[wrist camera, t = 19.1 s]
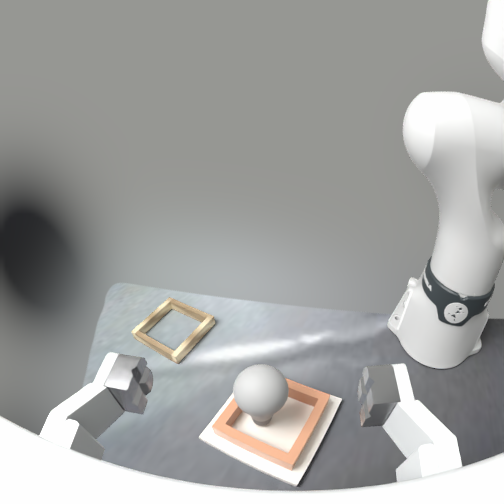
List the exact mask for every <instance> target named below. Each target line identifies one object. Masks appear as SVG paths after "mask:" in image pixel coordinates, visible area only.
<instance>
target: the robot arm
mask: <svg viewBox="0 0 504 504" xmlns="http://www.w3.org/2000/svg"><path fill="white" fill-rule="evenodd" d="M482 46H483V50H484V53H485V56H486V58H487V60H488V62H489V64H490V65H491V67H492V68H493V70H494V71H495V72H496V73H497V74H498V75H499V77H500V78H501V79H502V80H503V81H504V0H488V5H487V11H486V17H485V23H484V29H483V35H482ZM403 139H404V143H405V147H406V150H407V152H408V154H409V156H410V158H411V159H412V161H413V163H414V164H415V165H416V166H417V168H418V169H419V170H420V171H421V172H422V173H423V174H424V175H425V176H426V178H427V179H428V180H429V182H430V183H431V185H432V187H433V189H434V191H435V193H436V196H437V199H438V204H439V212H440V219H439V227H438V233H437V238H436V243H435V247H434V251H433V255H432V256H431V258H430V259H429V260H428V263H427V265H426V267H425V269H424V271H423V273H422V275H421V276H420V278H419V279H416V278H413V277H411V278H410V280H409V283H408V286H407V290H406V291H405V293H404V295H403V297H402V299H401V300H400V302H399V304H398V305H397V307H396V309H395V310H394V312H393V314H392V315H391V317H390V318H389V320H388V323H387V326H388V328H389V329H390V330H391V331H392V332H393V333H394V334H396V335H397V337H398V338H399V340H400V342H401V344H402V346H403V348H404V349H405V350H406V352H407V353H408V354H409V355H410V356H411V357H412V358H414V359H415V360H416V361H418V362H420V363H421V364H424V365H426V366H429V367H432V368H439V369H446V368H451V367H454V366H457V365H459V364H460V363H462V362H463V361H464V360H465V359H466V358H467V357H468V356H469V355H472V354H475V353H477V352H479V351H480V349H481V346H482V345H481V340H480V335H481V333H482V331H483V329H484V327H485V325H486V322H487V320H488V317H489V313H488V310H487V304H488V303H489V301H490V300H491V297H492V294H493V291H494V286H495V283H494V282H495V280H496V278H497V275H498V273H499V270H500V268H501V265H502V263H503V260H504V224H503V222H502V221H501V219H500V218H499V217H498V216H497V215H496V214H495V213H494V212H493V211H492V210H491V198H492V194H493V191H494V189H502V190H504V100H503V101H502V102H501V103H496V102H492V101H489V100H486V99H481V98H478V97H475V96H471V95H467V94H463V93H458V92H424V93H420V94H419V95H418V96H417V97H416V98H415V99H414V100H413V101H412V102H411V104H410V105H409V107H408V109H407V111H406V114H405V117H404V121H403ZM146 365H147V362H146V360H145V358H142V357H136V356H130V355H123V354H118V353H112V352H109V353H108V354H107V355H106V357H105V359H104V361H103V363H102V365H101V367H100V369H99V371H98V374H97V376H96V378H95V380H94V382H93V384H92V383H89V384H88V385H87V386H85V387H84V388H82V389H81V390H80V391H79V392H77V393H76V394H74V395H73V396H71V397H70V398H68V399H67V400H66V401H64V402H63V403H62V404H60V405H59V406H57V407H56V408H55V409H53V410H52V411H51V412H50V414H49V416H48V418H47V421H46V423H45V425H44V427H43V429H42V432H41V434H40V436H39V435H36V434H34V433H32V432H30V431H28V430H26V429H24V428H22V427H20V426H18V425H16V424H14V423H12V422H11V421H9V420H7V419H5V418H3V417H1V416H0V504H504V453H501V454H498V455H496V456H493V457H490V458H488V459H485V460H482V461H479V462H476V463H473V464H470V465H467V466H463V467H462V463H461V458H460V453H459V448H458V444H457V439H456V436H455V435H454V434H453V433H451V432H450V431H449V430H448V429H447V428H446V427H445V426H444V425H443V424H442V423H441V422H440V421H439V420H438V419H437V418H436V417H435V416H434V415H433V414H432V413H431V412H430V411H429V410H428V409H427V408H426V407H425V406H424V405H423V404H422V403H421V402H420V401H419V400H415V399H414V395H413V391H412V387H411V383H410V379H409V375H408V371H407V368H406V365H405V364H393V365H391V364H389V365H377V366H366V367H365V368H364V370H363V377H362V378H361V379H360V381H359V384H358V402H359V403H360V404H361V405H362V408H361V410H360V419H361V427H370V426H382V427H383V428H384V429H385V431H386V432H387V433H388V434H389V436H390V437H391V438H392V440H393V441H394V442H395V444H396V445H397V446H398V447H399V449H400V450H401V451H402V453H403V454H404V455H405V457H406V458H407V459H406V460H405V461H404V462H403V463H402V464H401V465H400V466H399V467H398V468H397V469H396V477H397V482H396V483H389V484H383V485H376V486H368V487H360V488H349V489H337V490H318V491H271V490H252V489H239V488H229V487H220V486H212V485H205V484H198V483H192V482H186V481H181V480H176V479H171V478H166V477H161V476H157V475H152V474H148V473H144V472H140V471H136V470H132V469H129V468H125V467H122V466H118V465H115V464H112V463H109V462H105V461H102V460H101V459H102V456H103V453H104V450H105V449H104V447H103V446H102V445H101V444H100V443H99V442H98V441H97V440H96V439H97V438H98V437H99V436H100V435H101V434H102V433H103V432H104V431H105V430H106V429H107V428H108V427H110V426H111V425H112V424H113V423H114V422H115V421H116V420H117V419H118V418H119V417H120V416H121V415H122V414H123V413H124V411H128V412H133V413H138V414H143V413H144V410H145V407H146V404H147V398H146V395H147V394H148V393H150V392H151V389H152V386H153V375H152V372H151V370H150V369H149V368H148V367H146Z"/></svg>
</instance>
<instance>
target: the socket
mask: <svg viewBox="0 0 504 504" xmlns="http://www.w3.org/2000/svg"><path fill="white" fill-rule="evenodd" d="M286 381H287V383H288V388H289V392H288V398H287V401H286V402H285V404H284V406H283V407H282V408H281V409H280V410H279V411H278V412H276V413H275V414H274V415H273V416H272V419H271V421H270V423H269V424H267V425H265V426H258V425H256V424H255V423H254V422H253V420H252V417H251V416H250V415H249V414H247V413H245V412H244V411H242V410H241V409H240V408H239V406H238V405H237V403H236V402H235V399H234V395H233V394H232V395H231V396H230V398H229V399H228V400H227V402H226V403H225V404H224V405H223V407H222V408H221V409H220V411H219V412H218V413H217V414H216V416H215V417H214V418H213V420H212V421H211V422H210V423H209V425H208V426H207V427H206V428H205V430H204V431H203V432H202V433H201V435H200V436H199V438H200V440H202V441H203V442H205V443H207V444H209V445H210V446H212V447H214V448H216V449H217V450H219V451H221V452H223V453H225V454H227V455H229V456H231V457H232V458H234V459H236V460H238V461H240V462H242V463H244V464H246V465H248V466H250V467H252V468H255V469H257V470H259V471H261V472H263V473H265V474H267V475H270V476H272V477H274V478H276V479H279V480H281V481H283V482H286V483H288V484H291V485H293V486H296V487H297V485H298V483H299V482H300V480H301V478H302V477H303V475H304V473H305V471H306V470H307V468H308V466H309V464H310V462H311V461H312V459H313V457H314V455H315V453H316V451H317V449H318V448H319V446H320V444H321V442H322V440H323V438H324V436H325V434H326V432H327V430H328V428H329V426H330V424H331V422H332V420H333V418H334V416H335V413H336V411H337V409H338V407H339V405H340V403H341V400H342V399H341V398H338V397H335V396H332V395H329V394H327V393H324V392H321V391H318V390H315V389H313V388H310V387H307V386H305V385H302V384H299V383H297V382H294V381H292V380H289V379H286Z"/></svg>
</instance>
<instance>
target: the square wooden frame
mask: <svg viewBox="0 0 504 504" xmlns="http://www.w3.org/2000/svg"><path fill="white" fill-rule="evenodd" d="M171 309H174V310H176V311H178V312H180V313H182V314H185V315H187V316H189V317H191V318H193V319H196V320H198V321H200V322H202V323H201V324H200V325H199V326H198V327H197V328H196V329H195V330H194V331H193V333H192V334H191V335H190V336H189V337H188V338H187V339H186V340H185V341H184V342H183V343H182V344H181V345H180V346H179V347H178V348H177V349H176V350H175V351H174V350H172V349H170V348H168V347H166V346H165V345H163V344H161V343H159V342H157V341H156V340H154V339H152V338H150V337H149V336H147V335H145V333H146V332H147V331H149V330H150V329H151V328H152V327H153V326H154V325H155V324H156V323H157V322H158V321H159V320H160V319H161V318H162V317H164V316H165V315H166V314H167V313H168V312H169V311H170V310H171ZM214 324H215V320H214V316H212V315H209V314H207V313H205V312H202V311H200V310H198V309H195V308H193V307H191V306H188V305H186V304H184V303H181V302H179V301H177V300H175V299H172V298H170V297H169V298H168V299H167V300H166V301H165V302H164V303H163V304H161V305H160V306H159V307H158V308H157V309H156V310H155V311H154V312H152V313H151V314H150V315H149V316H148V317H147V318H146V319H145V320H144V321H142V322H141V323H140V324H139V325H138V326H137V327H136V328H135V329H134V330H133V331H131V332H132V334H133V336H134V338H135V339H136V340H138V341H140V342H141V343H143V344H144V345H146V346H148V347H149V348H151V349H153V350H154V351H156V352H158V353H159V354H161V355H163V356H165V357H166V358H168V359H170V360H172V361H173V362H175V363H177V364H179V362H180V361H181V360H182V359H183V358H184V357H185V356H186V355H187V354H188V353H189V352H190V351H191V349H192V348H193V347H194V346H195V345H196V344H197V343H198V342H199V341H200V340H201V339H202V338H203V336H204V335H205V334H206V333H207V332H208V331H209V330H210V329H211V328H212V327H213V326H214Z"/></svg>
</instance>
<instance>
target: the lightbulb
mask: <svg viewBox="0 0 504 504" xmlns="http://www.w3.org/2000/svg"><path fill="white" fill-rule="evenodd" d="M288 392H289V388H288V383H287V381H286V378H285V377H284V376H283V374H282V373H281V372H280V371H279V370H277V369H276V368H274V367H272V366H269V365H263V364H259V365H253V366H250V367H248V368H246V369H245V370H243V371H242V372H241V373H240V374H239V375H238V377H237V378H236V380H235V383H234V387H233V395H234V399H235V402H236V403H237V405H238V406H239V408H240V409H241V410H242V411H244V412H245V413H247V414H249V415H250V416H251V417H252V420H253V422H254V423H255V424H256V425H258V426H265V425H267V424H269V423H270V421H271V419H272V416H273V415H274V414H275V413H276V412H278V411H279V410H280V409H281V408H282V407H283V406H284V404H285V402H286V401H287V398H288Z"/></svg>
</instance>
